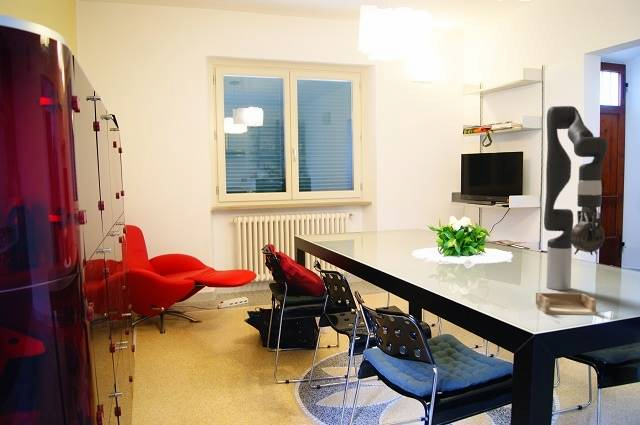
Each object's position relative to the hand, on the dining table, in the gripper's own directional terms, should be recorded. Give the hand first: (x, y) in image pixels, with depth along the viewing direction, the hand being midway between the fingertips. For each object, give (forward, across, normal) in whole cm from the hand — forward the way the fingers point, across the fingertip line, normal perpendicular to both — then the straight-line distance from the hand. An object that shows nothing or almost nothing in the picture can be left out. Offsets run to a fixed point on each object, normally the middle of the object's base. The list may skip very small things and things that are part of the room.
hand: (588, 240), depth 180 cm
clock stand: (+24, +6, -10) cm, 27 cm away
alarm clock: (+5, 0, 0) cm, 5 cm away
